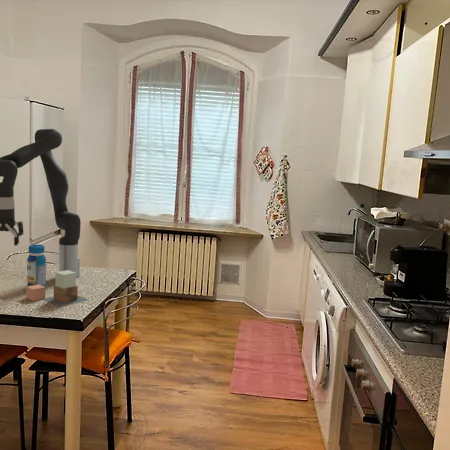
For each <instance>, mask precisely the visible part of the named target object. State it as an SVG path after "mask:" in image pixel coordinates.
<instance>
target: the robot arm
mask: <svg viewBox="0 0 450 450" xmlns="http://www.w3.org/2000/svg"><path fill="white" fill-rule="evenodd" d="M62 143H63V137H62V133H61V132H60V131H59V130H58V129H55V128H45V129H44V128H40V129H37V130H36V131H35V133H34V142H32V143H29V144H27V145H23V146H21V147H19V148H17V149H16V150H13V152H12V153H9V154H6V155H3V156H1V157H0V177H2V181H1V182H0V232H10V233H11V234H12V235H13V236H14V237H13V244H14V246H15V247H16V246H18V245H19V243H20V236H23V235H24V223H23V222H24V221H22V220H21V221H16V220H15V218H16V216H15V208H16V207H15V197H14V196H15V195H14V192H15V191H14V188H15V183H16V179H17V176H18V171H19V170H18V169H20V168H22V167H24V166H25V165H27V164H28V163H30V162H32V161H34V159H37V158H39V157H40V160H41V163H42V167H43V170H44V173H45V177H46V182H47V186H48V190H49V193H50V197H51V202H52V206H53V212H54V213H53V214H54V220H55V224H56V227H58V229H60V230H63V231H64V236H62V237H60V238H59V239H58V272H60V271H65V270H69V271H72V272H75V273H76V278H78V277H81V276H80V275H81V274H80V271H81V270H80V268H81V267H80V266H81V265H80V264H81V263H80V261H81V260H80V258H79V240H80V237H81V226H82V225H81V223H82V222H81V217H80V216H79V214H77V213H75V212H70V211H69V209H68V207H67V196H68V192H69V183H68V178H67V173H66V172H65V170H64V168H62V166H61V165H60V164H59V162H58V161H57V160H56V159H55V157H54V154H53V152H52V151H53V150H55V149H58V148H59V147H60V146H61V144H62ZM15 226H17V229H18V231H17V229H16V227H15Z"/></svg>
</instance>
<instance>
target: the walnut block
mask: <svg viewBox="0 0 450 450" xmlns="http://www.w3.org/2000/svg"><path fill="white" fill-rule="evenodd" d="M77 296H78V285H76V286H75V287H70V288H65V289H63V288H60V287H57V286H55V285H53V297H54V300H57V301H59V302H62V303H66V302H70V301H74V300H77Z"/></svg>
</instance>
